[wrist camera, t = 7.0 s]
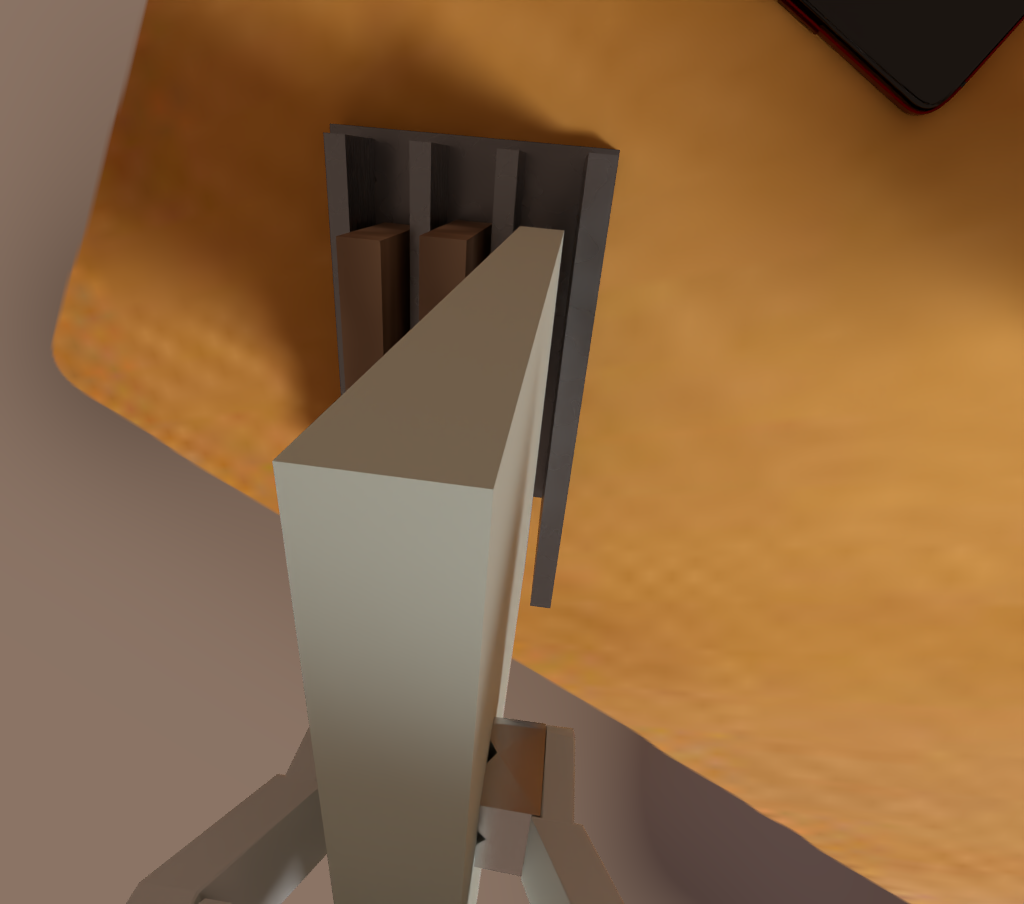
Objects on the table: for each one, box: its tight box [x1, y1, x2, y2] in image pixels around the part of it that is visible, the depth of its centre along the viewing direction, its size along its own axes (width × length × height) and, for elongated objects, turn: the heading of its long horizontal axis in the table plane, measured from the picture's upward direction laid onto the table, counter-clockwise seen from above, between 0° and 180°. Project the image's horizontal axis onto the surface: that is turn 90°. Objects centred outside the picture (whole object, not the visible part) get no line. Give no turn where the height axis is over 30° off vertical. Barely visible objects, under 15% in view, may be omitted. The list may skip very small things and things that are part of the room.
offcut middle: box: [419, 220, 492, 322], centre depth 29 cm, size 2×13×8 cm, turn 175°
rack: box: [323, 124, 620, 608], centre depth 29 cm, size 15×21×12 cm
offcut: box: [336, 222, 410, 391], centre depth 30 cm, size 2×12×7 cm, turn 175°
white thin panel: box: [273, 226, 564, 904], centre depth 15 cm, size 2×15×18 cm, turn 175°
